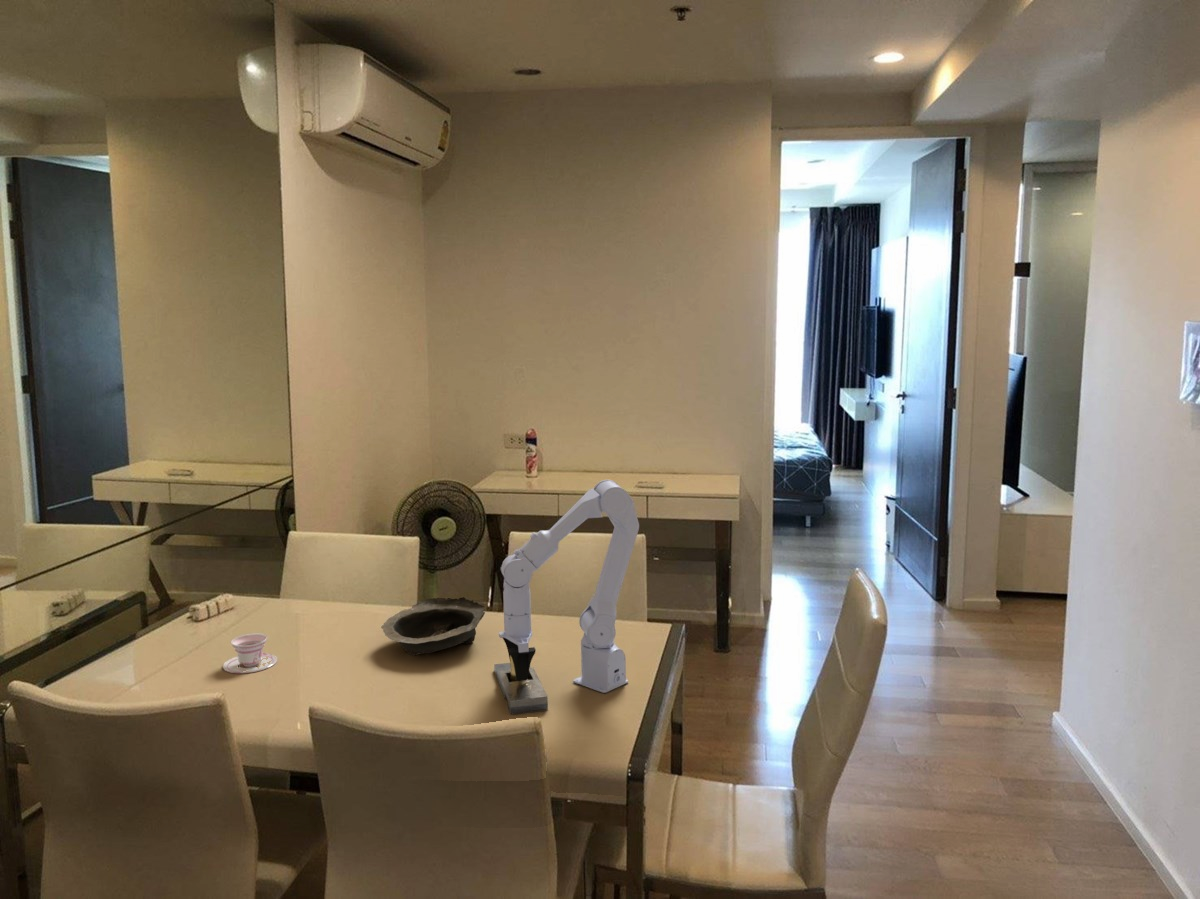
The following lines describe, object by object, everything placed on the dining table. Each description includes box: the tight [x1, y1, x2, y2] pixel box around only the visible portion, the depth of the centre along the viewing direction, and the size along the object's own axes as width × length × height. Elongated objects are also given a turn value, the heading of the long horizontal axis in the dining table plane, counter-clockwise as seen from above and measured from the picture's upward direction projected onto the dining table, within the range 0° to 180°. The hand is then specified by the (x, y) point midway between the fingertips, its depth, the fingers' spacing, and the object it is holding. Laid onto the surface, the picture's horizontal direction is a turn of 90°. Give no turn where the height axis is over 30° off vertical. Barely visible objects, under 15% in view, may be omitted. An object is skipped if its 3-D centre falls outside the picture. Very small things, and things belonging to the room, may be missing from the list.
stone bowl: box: [380, 596, 486, 656], centre depth 225 cm, size 25×25×9 cm
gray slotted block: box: [493, 662, 549, 716], centre depth 198 cm, size 24×8×3 cm, turn 14°
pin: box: [509, 656, 528, 682], centre depth 198 cm, size 4×4×8 cm
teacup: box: [222, 632, 278, 674], centre depth 215 cm, size 12×12×6 cm
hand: (519, 673), depth 198 cm, fingers open, 7 cm apart
